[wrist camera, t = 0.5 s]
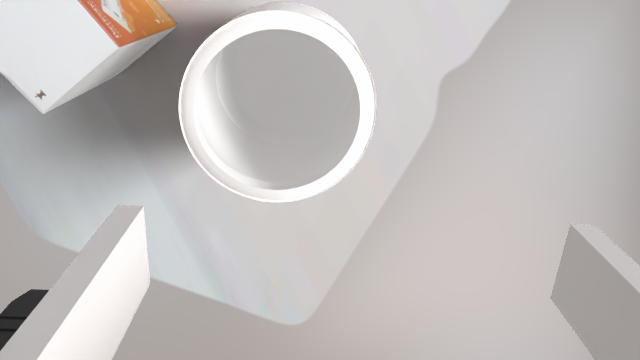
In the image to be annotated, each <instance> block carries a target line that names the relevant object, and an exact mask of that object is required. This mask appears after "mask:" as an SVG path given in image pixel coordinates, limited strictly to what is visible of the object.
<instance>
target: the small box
mask: <svg viewBox="0 0 640 360" xmlns="http://www.w3.org/2000/svg"><path fill="white" fill-rule="evenodd" d="M176 27H177V24H176V23H175V22H174V21H173V19H172V18H171V17H170V16H169V15H168V14H167V13H166V12H165V10H164V9H163V8H162V7H161V6H160V5H159V3H158V2H157V1H156V0H0V73H1V74H2V75H3V76H4V77H5V78H6V79H7V80H8V81H9V82H10V83H11V84H12V85H13V86H14V87H15V88H16V89H17V90H18V91H19V92H20V93H21V94H22V95H23V96H24V97H25V98H26V99H28V100H29V102H30V103H31V104H32V105H33V106H34V107H35V108H36V109H37V110H38V111H39V112H40V113H42V114H45V113H47V112H49V111H51V110H53V109H55V108H56V107H58V106H60V105H62V104H64V103H66V102H68V101H70V100H71V99H73V98H75V97H77V96H79V95H81V94H83V93H85V92H87V91H89V90H91V89H93V88H95V87H97V86H99V85H101V84H102V83H104V82H106V81H108V80H109V79H111V78H113V77H115V76H117V75H118V74H120V73H121V72H123V71H124V70H125V69H126V68H127V67H129V66H130V65H131V64H132V63H133V62H135V61H136V60H137V59H138V58H139V57H141V56H142V55H143V54H144V53H145V52H147V51H148V50H149V49H150V48H151V47H153V46H154V45H155V44H156V43H158V42H159V41H160V40H161V39H162V38H164V37H165V36H166V35H167V34H169V33H170V32H171V31H172V30H173V29H175V28H176Z"/></svg>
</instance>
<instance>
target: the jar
mask: <svg viewBox="0 0 640 360" xmlns="http://www.w3.org/2000/svg"><path fill="white" fill-rule="evenodd" d="M376 116H377V96H376V89H375V85H374V81H373V78H372V75H371V72H370V70H369V67H368V65H367V63H366V61H365V59H364V58H363V56H362V55H361V53H360V51H359V49H358V47H357V45H356V44H355V42H354V40H353V39H352V37H351V36H350V35H349V33H348V32H347V31H346V30H345V29H344V28H343V27H342V26H341V25H340V24H339V23H338V22H337V21H336V20H334V19H333V18H332V17H330V16H329V15H327V14H326V13H324V12H322V11H320V10H318V9H316V8H313V7H311V6H308V5H304V4H300V3H293V2H274V3H267V4H263V5H259V6H256V7H253V8H251V9H249V10H246V11H244V12H243V13H241V14H239V15H237V16H236V17H234V18H233V19H232V20H230V21H229V22H228V23H227V24H225V25H223V26H222V27H220V28H219V29H218V30H216V31H215V32H214V33H213V34H211V35H210V36H209V37H208V38H207V39H206V40H205V41H204V42H203V44H202V45H201V46H200V47H199V48H198V50H197V51H196V52H195V54H194V55H193V57H192V59H191V60H190V62H189V64H188V66H187V68H186V71H185V73H184V76H183V79H182V83H181V87H180V93H179V119H180V125H181V129H182V133H183V136H184V139H185V141H186V144H187V146H188V148H189V150H190V152H191V153H192V155H193V157H194V158H195V160H196V161H197V162H198V164H199V165H200V166H201V167H202V169H203V170H204V171H205V172H206V173H207V174H208V175H209V176H210V177H211V178H213V179H214V180H215V181H216V182H218V183H219V184H220V185H222V186H223V187H225V188H227V189H229V190H230V191H232V192H234V193H237V194H239V195H241V196H244V197H247V198H250V199H254V200H259V201H265V202H291V201H297V200H302V199H305V198H309V197H312V196H315V195H317V194H319V193H322V192H324V191H326V190H327V189H329V188H331V187H332V186H334V185H335V184H337V183H338V182H340V181H341V180H342V179H343V178H344V177H346V176H347V175H348V174H349V173H350V172H351V171H352V170H353V168H354V167H355V166H356V165H357V164H358V162H359V161H360V159H361V158H362V156H363V155H364V153H365V151H366V149H367V147H368V145H369V143H370V141H371V138H372V135H373V132H374V128H375V123H376Z"/></svg>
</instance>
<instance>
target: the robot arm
mask: <svg viewBox="0 0 640 360" xmlns="http://www.w3.org/2000/svg"><path fill="white" fill-rule="evenodd" d="M149 285H150V276H149V265H148V253H147V241H146V229H145V218H144V206H126V205H118V206H117V207H116V208H115V209H114V211H113V212H112V213H111V214H110V216H109V217H108V218H107V219H106V220H105V222H104V223H103V224H102V225H101V227H100V228H99V229H98V230H97V232H96V233H95V234H94V235H93V237H92V238H91V239H90V240H89V242H88V243H87V244H86V245H85V247H84V248H83V249H82V250H81V252H80V253H79V254H78V255H77V257H76V258H75V259H74V260H73V262H72V263H71V264H70V265H69V266H68V268H67V269H66V270H65V271H64V273H63V274H62V275H61V276H60V278H59V279H58V280H57V281H56V283H55V284H54V285H53V287H52V288H51V289H50V290H29V291H28V292H26V293H25V294H23V295H21V296H20V297H18V298H17V299H15V300H13V301H12V302H11V303H10V304H9V305H8V306H7V307H6V309H5V310H4V311H3V312H2V313H1V314H0V360H112V358H113V356H114V354H115V352H116V350H117V348H118V346H119V344H120V342H121V340H122V338H123V336H124V334H125V332H126V330H127V328H128V326H129V324H130V322H131V320H132V318H133V316H134V314H135V312H136V310H137V308H138V306H139V304H140V303H141V301H142V299H143V297H144V295H145V293H146V291H147V289H148V287H149ZM551 299H552V301H553V302H554V303H555V305H556V306H557V308H558V309H559V310H560V312H561V313H562V314H563V316H564V317H565V319H566V320H567V322H568V323H569V324H570V326H571V327H572V328H573V330H574V331H575V333H576V334H577V335H578V337H579V338H580V339H581V341H582V342H583V344H584V345H585V347H586V348H587V349H588V351H589V352H590V353H591V355H592V356H593V358H594V359H595V360H640V266H639V265H638V264H637V263H636V262H635V261H633V260H632V259H631V258H630V257H629V256H628V255H627V254H626V253H625V252H624V251H623V250H621V249H620V248H619V247H618V246H617V245H616V244H615V243H614V242H613V241H612V240H611V239H609V238H608V237H607V236H606V235H605V234H604V233H603V232H602V231H601V230H600V229H599V228H597V227H596V226H595V225H585V224H570V228H569V231H568V235H567V239H566V243H565V246H564V250H563V254H562V257H561V261H560V265H559V269H558V272H557V276H556V280H555V284H554V288H553V291H552V295H551Z"/></svg>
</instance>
